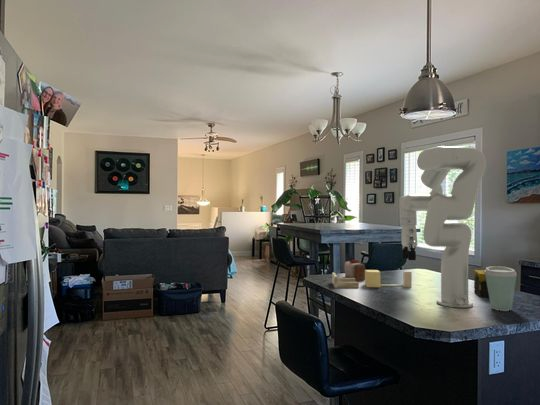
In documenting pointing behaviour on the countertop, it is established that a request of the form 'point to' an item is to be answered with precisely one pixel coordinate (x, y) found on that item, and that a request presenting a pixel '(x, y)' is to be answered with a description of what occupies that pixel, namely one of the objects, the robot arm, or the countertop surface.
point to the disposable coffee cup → (500, 287)
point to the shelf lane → (344, 282)
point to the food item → (355, 270)
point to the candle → (480, 284)
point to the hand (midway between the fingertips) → (408, 259)
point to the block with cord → (374, 281)
